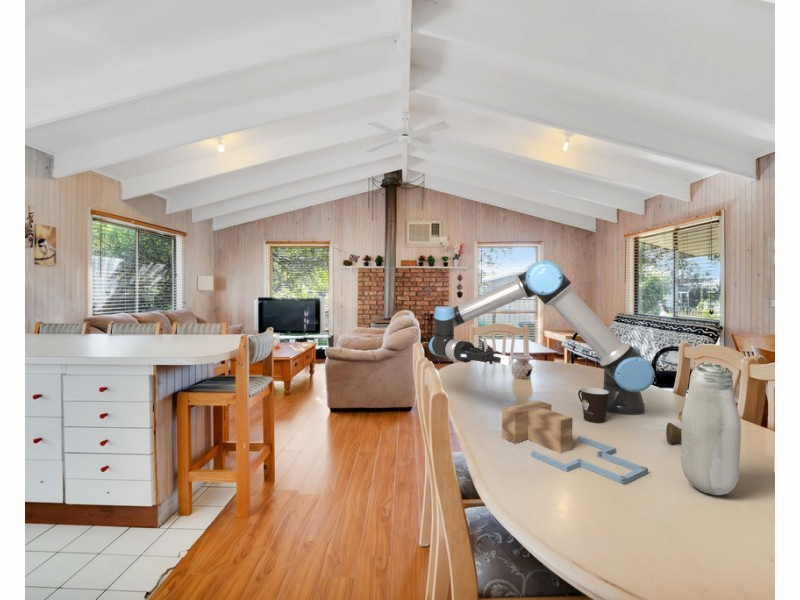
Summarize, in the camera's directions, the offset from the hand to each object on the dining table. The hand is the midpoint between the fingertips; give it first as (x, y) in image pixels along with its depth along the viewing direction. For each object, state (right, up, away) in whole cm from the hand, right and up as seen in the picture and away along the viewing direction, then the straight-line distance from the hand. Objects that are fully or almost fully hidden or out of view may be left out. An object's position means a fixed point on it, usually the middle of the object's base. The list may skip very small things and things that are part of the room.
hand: (510, 361), depth 127 cm
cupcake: (+57, -22, -2) cm, 61 cm away
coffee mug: (+31, -22, +11) cm, 39 cm away
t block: (+7, -22, -10) cm, 25 cm away
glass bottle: (+34, -23, -38) cm, 56 cm away
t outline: (+15, -22, -23) cm, 36 cm away
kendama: (+46, -23, -15) cm, 53 cm away
